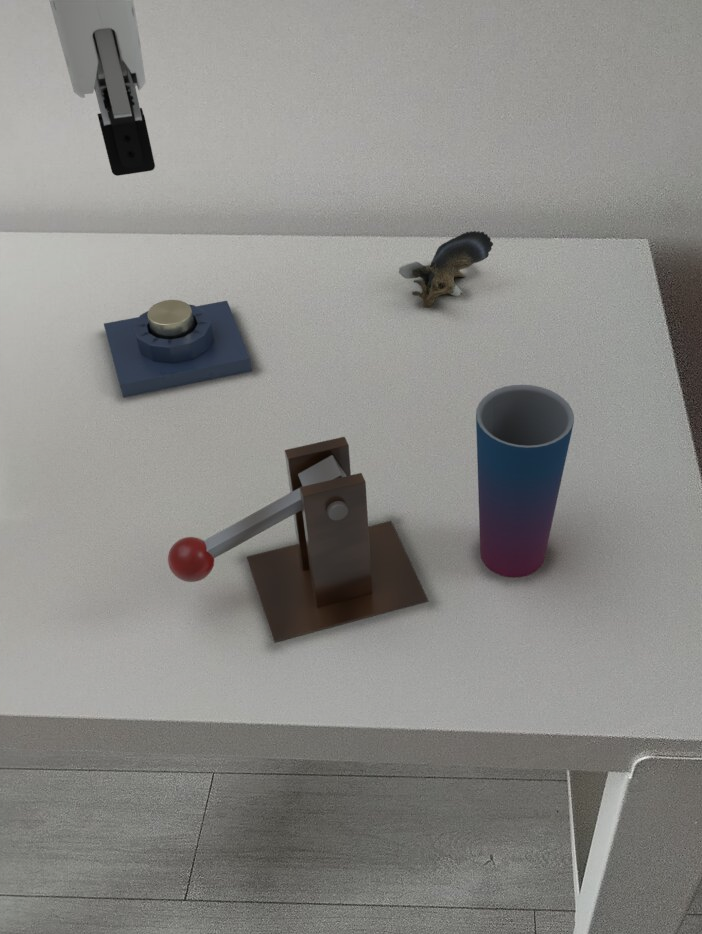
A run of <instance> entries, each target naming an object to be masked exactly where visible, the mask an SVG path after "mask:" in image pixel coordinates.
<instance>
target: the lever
mask: <svg viewBox="0 0 702 934" xmlns="http://www.w3.org/2000/svg"><path fill="white" fill-rule="evenodd" d="M298 476H299V479H300V481H301V484H302V487H303V486H307V485H311V484H315V483H320V482H324V481H328V480H333V479H337V478H341V477H345V476H346V474H345V473H344V471H343V470H342V468H341V467H340V465H339V464H338V462H337V461H336V459H335V458H334V457H333V455H331V456H329V457H328V458H326V459H324V460H322V461H320V462H319V463H317V464H315V465H313V466H311V467H310V468H308V469H306V470H304V471H302V472H301V473H299V474H298ZM301 510H302V504H301V496H300V489H299V488H298V489H296V490H295V491H293V492H291V493H290V492H289V493H287V494H286V495H284V496H282V497H280V498H278V499H276V500H275V501H273V502H271V503H270V504H268V505H266V506H264V507H262V508H261V509H259V510H256V511H255V512H253V513H251V514H249V515H247V516H246V517H244V518H242V519H241V520H238V521H237V522H235V523H234V524H232V525H230V526H228V527H226V528H224V529H223V530H220V531H219V532H217V533H215V534H213V535H212V536H210V537H208V538H206V539H205V540H204V539H202V538H200V537H195V536H186V537H183V538H182V537H181V538H180V539H178V540H177V541H176V542H174V543H173V544H172V546H170V549H169V551H168V554H167V564H168V568H169V570H170V572H171V573H172V574H173V575H174V576H175V578H177V579H179V580H181V581H183V582H187V583H196V582H200V581H202V580H204V579H205V578H206V577H208V576H209V575H210V573H211V572H212V570H213V568H214V566H215V559H217V558H218V557H219V556H221V555H223V554H225V553H226V552H228V551H230V550H232V549H234V548H236V547H237V546H239V545H241V544H243V543H245V542H247V541H249V540H250V539H253V538H254V537H256V536H257V535H259V534H261V533H262V532H265V531H267V530H268V529H271V528H272V527H274V526H276V525H277V524H280V523H281V522H283V521H285V520H287V519H288V518H290V517H292V516H293V515H294V514H295V513H297V512H299V511H301Z"/></svg>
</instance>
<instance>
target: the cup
mask: <svg viewBox="0 0 702 934" xmlns="http://www.w3.org/2000/svg"><path fill="white" fill-rule="evenodd" d="M574 424H575V415H574V411H573V409H572V407H571V405H570V403H569V402H568V401H567V400H566V399H565V398H564V397H563V396H561V395H560V394H558V393H556V392H555V391H553V390H552V389H551V390H550V389H548V388H546V387H542V386H537V385H533V384H512V385H511V384H510V385H507V386H503V387H502V386H501V387H499V388H496V389H495V390H493V391H491V392H489V393H488V394H486V395H485V396H484V397H483V398H482V399H481V400H480V402H479V403H478V405H477V407H476V411H475V426H476V429H475V430H476V431H475V432H476V460H477V461H476V463H477V490H478V491H477V493H478V495H477V496H478V523H479V525H478V526H479V527H478V528H479V553H480V554H479V555H480V559H481V561H482V563H483V564H484V566H485V567H486V568H487V569H489V570H490V571H491V572H493V573H494V574H496V575H499V576H502V577H505V578H522V577H526V576H530V575H532V574H534V573H535V572H537V571H538V570H539V569H541V567H542V565H543V564H544V561H545V558H546V554H547V553H546V552H547V547H548V545H549V544H548V543H549V540H550V534H551V530H552V525H553V520H554V515H555V511H556V508H557V507H556V506H557V502H558V497H559V491H560V488H561V484H562V480H563V479H562V478H563V474H564V469H565V465H566V460H567V456H568V451H569V446H570V442H571V438H572V433H573V428H574Z"/></svg>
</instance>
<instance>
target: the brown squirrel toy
mask: <svg viewBox="0 0 702 934" xmlns="http://www.w3.org/2000/svg"><path fill="white" fill-rule="evenodd" d="M491 240H492V238H491V237H490V236H488V233H485V231H481V232H480V231H479V230H478V231H476V230H474V231H472V230H470V231H466V232H463V233H461V234H460V235H458V236H455V237H453V238H451V239H449V240H448V241H446V242H444V243H442V244H440V246H438V248H437V249H436V252H435V254H434V255H433V258H432V260H431V262H430V264H427V265H423V264H422V263H420V262H419V261H413V262H409V263H406V264H404V265H401V266H400V267H399V268H398V274H399V275H401V277H403V278H404V279H408V280H410V279H414V280H413V283H416V284H418V285H419V286H420V288H421V292H420V291H417V290H416V291H411V292H412V293H411V294H412V295H413V296H415V297H416V296H417V297H418V296H419V297H420V298H421V299H422V307H423V308H431V307H432V306H433V305H434V303H435V300H436V298H437V297H439V296H441V295H446V294H449V295H451V296H453V297H461V296H463V294H464V293H463V291H462V290H461V289H460V287H459V286H458V285H457V284H456V282H455V278H467V275H466V274H464V273H463V272H461V270H464V269H467V268H470V267H471V266H472V265H473V264H477V263H480V262H482V261H484V260H486V259H487V258H488V257H489V253H490V252H491V251H492V249H493V248H492V247H493V246H494V243H493V242H492V241H491ZM416 278H421V279H416ZM422 279H423V280H422Z"/></svg>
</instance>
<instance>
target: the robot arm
mask: <svg viewBox="0 0 702 934" xmlns="http://www.w3.org/2000/svg"><path fill="white" fill-rule="evenodd" d="M134 2H135V1H134V0H49V4H50V8H51V12H52V15H53V19H54V24H55V26H56V30H57V34H58V38H59V42H60V46H61V49H62V53H63V57H64V61H65V64H66V65H65V66H66V68H67V72H68V76H69V79H70V83H71V87H72V90H73V93H74V94H75V95H77V96H78V97H80V98H82V99H83V98H86V96H85V95H91V94H94V92H95V95H96V100H97V105H98V109H99V111H100V113H97V118H98V122H99V126H100V130H101V135H102V138H103V142H104V146H105V150H106V154H107V159H108V163H109V166H110V170H111V173H112V174H113V175H114V176H117V177H118V176H125V175H132V174H138V173H139V174H140V173H147V172H152V171H153V170H155V168H156V163H155V159H154V154H153V148H152V144H151V141H150V136H149V132H148V127H147V126H148V125H147V122H146V117H145V114H144V111H143V108H142V107H140V103H139V98H138V92H137V90H138V91H140V90H141V89H142V88H143V87H144V86H145V84H146V75H145V68H144V59H143V53H142V46H141V39H140V34H139V33H140V31H139V26H138V21H137V14H136V8H135V5H134V4H135V3H134ZM136 87H137V88H136Z"/></svg>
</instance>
